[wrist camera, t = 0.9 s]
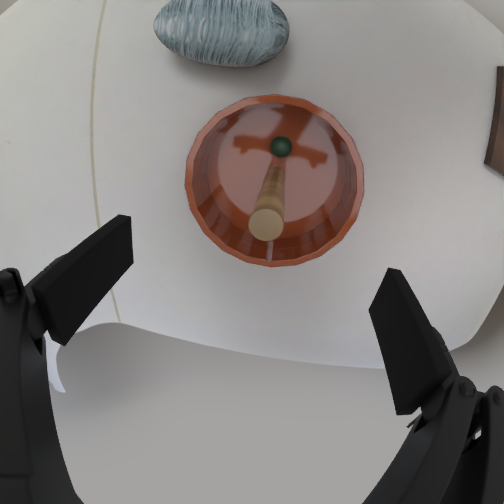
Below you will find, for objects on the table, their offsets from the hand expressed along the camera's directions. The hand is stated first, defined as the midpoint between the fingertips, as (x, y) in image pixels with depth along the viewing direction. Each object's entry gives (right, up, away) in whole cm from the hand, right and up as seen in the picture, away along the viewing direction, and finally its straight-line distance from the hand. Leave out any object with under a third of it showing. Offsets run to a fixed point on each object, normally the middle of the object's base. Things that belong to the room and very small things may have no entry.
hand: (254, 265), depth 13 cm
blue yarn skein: (-3, +25, +10) cm, 27 cm away
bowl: (+3, +10, +18) cm, 20 cm away
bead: (+3, +12, +14) cm, 19 cm away
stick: (+3, +9, +17) cm, 20 cm away
